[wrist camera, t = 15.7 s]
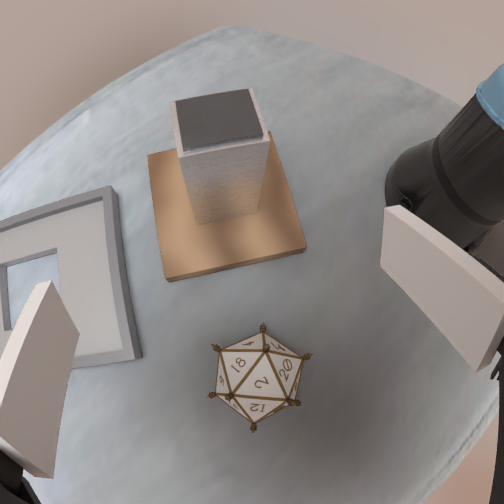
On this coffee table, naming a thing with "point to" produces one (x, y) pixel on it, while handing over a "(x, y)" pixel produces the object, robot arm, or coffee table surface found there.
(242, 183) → the block
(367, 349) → the coffee table surface
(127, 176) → the coffee table surface
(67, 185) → the coffee table surface
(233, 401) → the game die
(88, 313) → the grey flat frame
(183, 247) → the board
